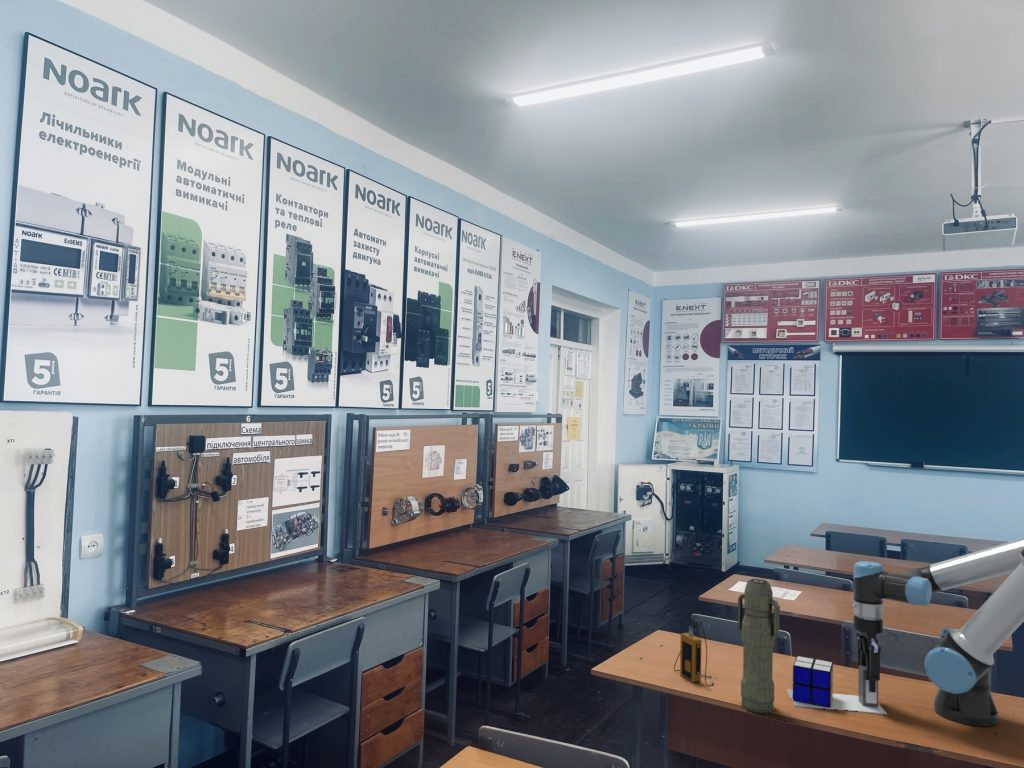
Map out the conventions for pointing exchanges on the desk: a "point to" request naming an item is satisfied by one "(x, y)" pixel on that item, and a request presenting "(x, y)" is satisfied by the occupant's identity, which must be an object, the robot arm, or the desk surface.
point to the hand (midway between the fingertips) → (868, 699)
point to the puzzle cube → (813, 681)
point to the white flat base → (849, 699)
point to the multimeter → (691, 655)
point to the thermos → (758, 645)
